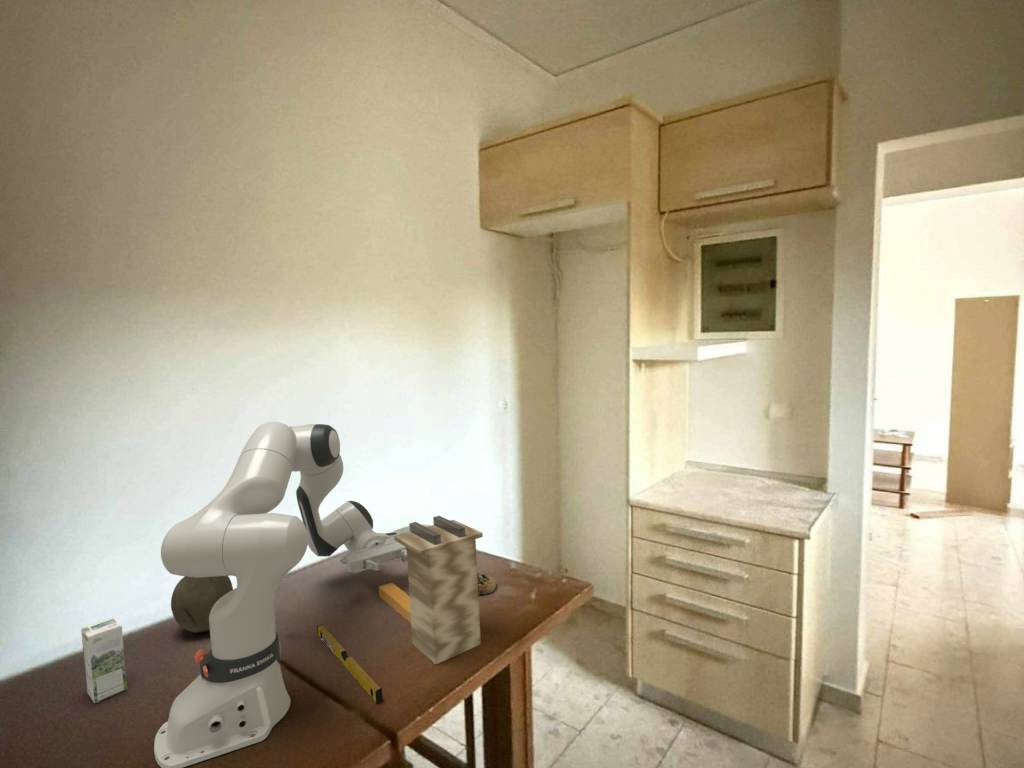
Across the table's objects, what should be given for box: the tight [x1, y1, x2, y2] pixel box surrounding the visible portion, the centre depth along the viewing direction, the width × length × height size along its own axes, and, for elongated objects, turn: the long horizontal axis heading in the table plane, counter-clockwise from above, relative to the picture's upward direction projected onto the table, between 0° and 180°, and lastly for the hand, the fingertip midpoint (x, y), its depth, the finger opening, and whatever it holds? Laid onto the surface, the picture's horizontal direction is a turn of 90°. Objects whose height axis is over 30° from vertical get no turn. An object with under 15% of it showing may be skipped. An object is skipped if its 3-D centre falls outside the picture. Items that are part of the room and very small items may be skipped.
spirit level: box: [316, 623, 384, 705], centre depth 116 cm, size 33×1×3 cm, turn 39°
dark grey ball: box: [170, 576, 234, 634], centre depth 134 cm, size 14×14×15 cm
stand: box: [394, 515, 484, 666], centre depth 122 cm, size 16×13×28 cm
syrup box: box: [80, 617, 128, 704], centre depth 109 cm, size 6×6×14 cm
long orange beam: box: [378, 582, 411, 624], centre depth 141 cm, size 4×20×3 cm, turn 37°
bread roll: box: [477, 571, 497, 597], centre depth 151 cm, size 11×11×5 cm
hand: (393, 563), depth 144 cm, fingers open, 7 cm apart
